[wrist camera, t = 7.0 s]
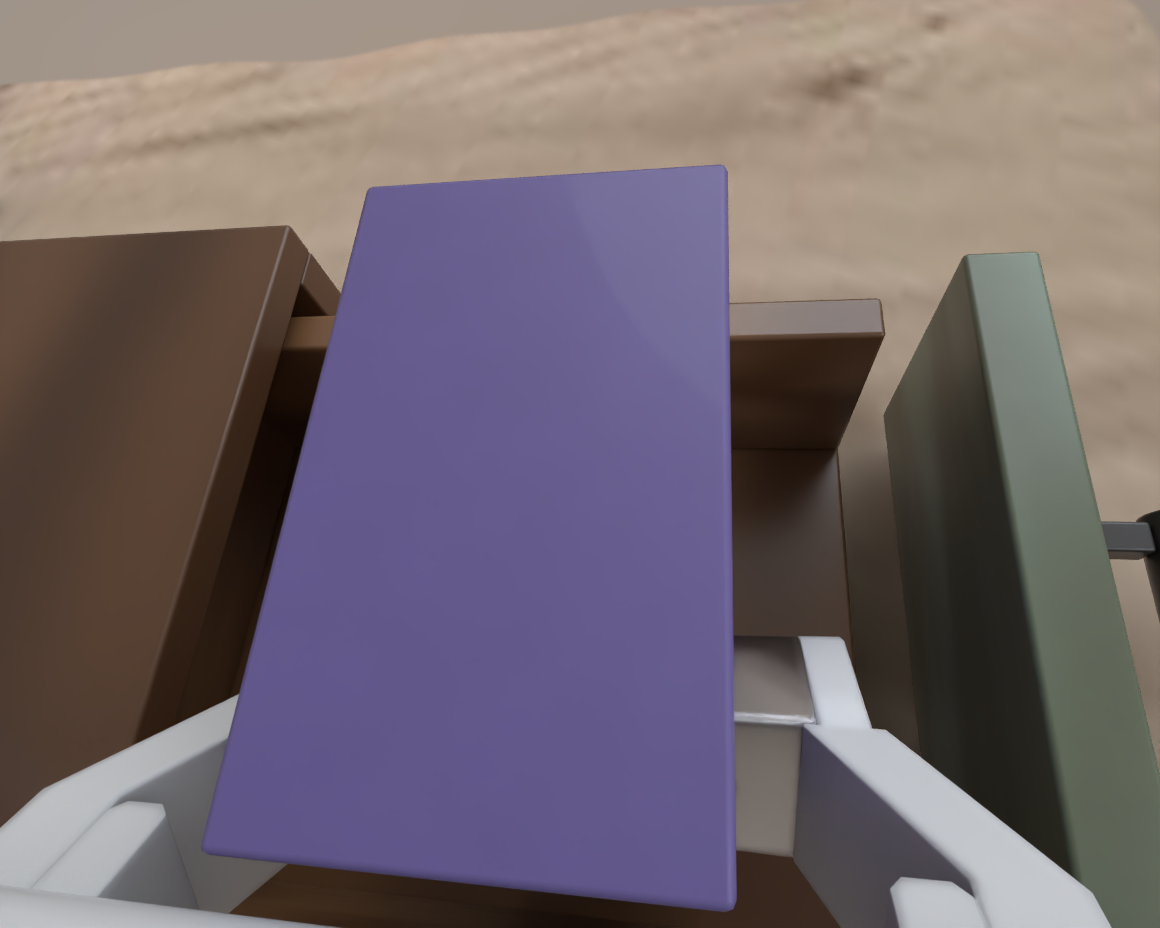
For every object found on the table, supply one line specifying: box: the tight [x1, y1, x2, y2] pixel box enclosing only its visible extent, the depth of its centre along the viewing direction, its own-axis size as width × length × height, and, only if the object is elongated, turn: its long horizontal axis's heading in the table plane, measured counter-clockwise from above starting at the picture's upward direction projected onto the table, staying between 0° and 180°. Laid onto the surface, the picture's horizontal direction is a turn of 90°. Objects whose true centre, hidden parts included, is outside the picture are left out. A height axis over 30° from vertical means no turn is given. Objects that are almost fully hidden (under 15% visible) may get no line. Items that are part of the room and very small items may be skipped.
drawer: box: [175, 252, 1160, 928], centre depth 13 cm, size 21×12×6 cm, turn 86°
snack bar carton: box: [201, 165, 737, 912], centre depth 10 cm, size 4×6×10 cm, turn 176°
